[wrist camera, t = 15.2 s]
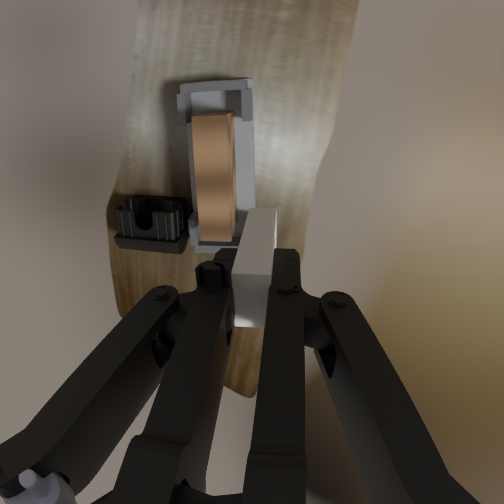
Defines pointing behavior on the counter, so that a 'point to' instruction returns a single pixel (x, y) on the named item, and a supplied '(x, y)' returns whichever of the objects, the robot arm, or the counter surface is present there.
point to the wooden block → (215, 174)
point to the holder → (241, 102)
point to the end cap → (153, 224)
